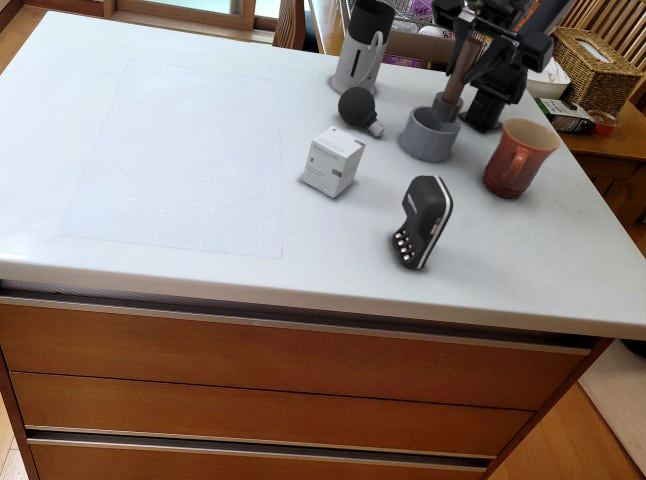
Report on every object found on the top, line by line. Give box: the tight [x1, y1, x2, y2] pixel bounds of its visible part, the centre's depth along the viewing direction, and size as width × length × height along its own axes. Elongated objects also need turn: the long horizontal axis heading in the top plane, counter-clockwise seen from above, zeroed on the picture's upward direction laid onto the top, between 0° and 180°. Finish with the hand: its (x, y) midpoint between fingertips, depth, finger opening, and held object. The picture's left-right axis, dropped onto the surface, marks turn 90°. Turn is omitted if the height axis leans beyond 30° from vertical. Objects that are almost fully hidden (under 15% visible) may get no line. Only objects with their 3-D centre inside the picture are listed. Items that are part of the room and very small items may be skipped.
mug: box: [481, 117, 561, 199], centre depth 86 cm, size 12×9×10 cm
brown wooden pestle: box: [430, 37, 484, 123], centre depth 83 cm, size 4×4×12 cm
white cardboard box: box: [301, 125, 367, 199], centre depth 81 cm, size 6×6×7 cm
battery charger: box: [391, 174, 454, 269], centre depth 71 cm, size 7×4×11 cm, turn 7°
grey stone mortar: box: [399, 105, 462, 163], centre depth 94 cm, size 9×9×6 cm
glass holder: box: [330, 0, 397, 96], centre depth 100 cm, size 9×14×15 cm, turn 2°
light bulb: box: [337, 87, 386, 138], centre depth 95 cm, size 6×6×10 cm
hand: (454, 79), depth 82 cm, fingers closed on brown wooden pestle, 2 cm apart
